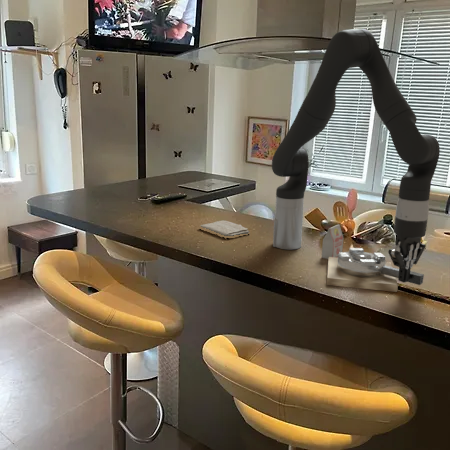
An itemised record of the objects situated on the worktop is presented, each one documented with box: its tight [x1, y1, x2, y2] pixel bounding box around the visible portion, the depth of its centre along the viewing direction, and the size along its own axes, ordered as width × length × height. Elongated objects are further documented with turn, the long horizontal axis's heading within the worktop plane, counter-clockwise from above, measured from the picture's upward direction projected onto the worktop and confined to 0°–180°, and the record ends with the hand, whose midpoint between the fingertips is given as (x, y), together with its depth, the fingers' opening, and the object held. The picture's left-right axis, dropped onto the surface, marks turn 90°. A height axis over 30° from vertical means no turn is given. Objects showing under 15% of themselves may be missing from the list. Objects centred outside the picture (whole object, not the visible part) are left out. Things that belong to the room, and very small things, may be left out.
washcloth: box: [199, 220, 250, 236], centre depth 172 cm, size 12×18×3 cm, turn 40°
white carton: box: [321, 224, 344, 260], centre depth 146 cm, size 4×7×10 cm, turn 140°
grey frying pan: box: [337, 247, 425, 286], centre depth 125 cm, size 24×13×4 cm, turn 46°
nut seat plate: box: [326, 257, 399, 293], centre depth 130 cm, size 18×18×2 cm
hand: (403, 281), depth 118 cm, fingers closed
